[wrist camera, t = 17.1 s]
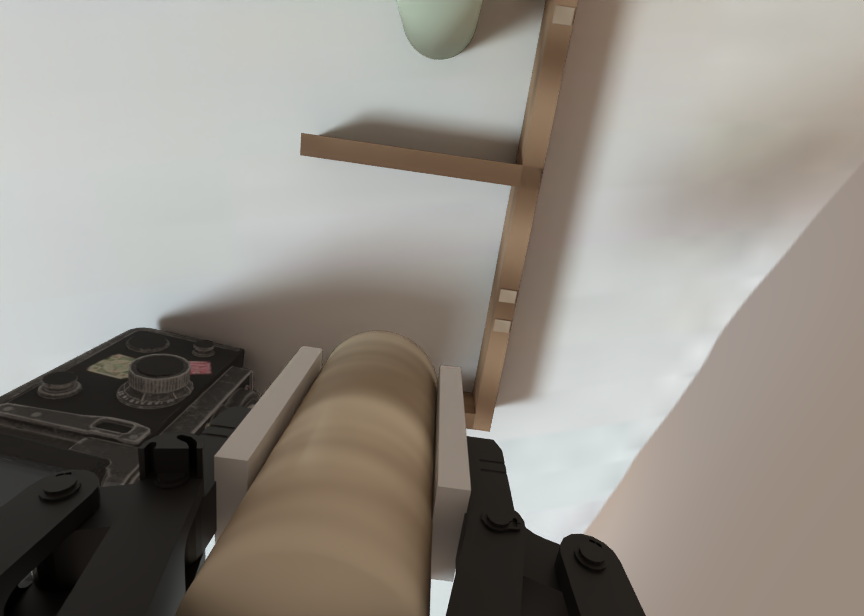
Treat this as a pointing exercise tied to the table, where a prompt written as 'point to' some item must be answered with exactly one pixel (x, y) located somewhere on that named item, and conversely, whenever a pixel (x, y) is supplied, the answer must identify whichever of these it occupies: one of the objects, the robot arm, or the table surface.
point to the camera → (116, 406)
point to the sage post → (439, 25)
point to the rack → (518, 176)
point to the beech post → (337, 498)
